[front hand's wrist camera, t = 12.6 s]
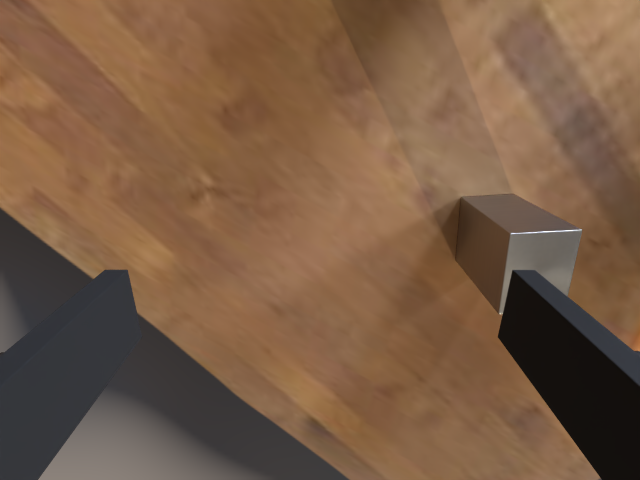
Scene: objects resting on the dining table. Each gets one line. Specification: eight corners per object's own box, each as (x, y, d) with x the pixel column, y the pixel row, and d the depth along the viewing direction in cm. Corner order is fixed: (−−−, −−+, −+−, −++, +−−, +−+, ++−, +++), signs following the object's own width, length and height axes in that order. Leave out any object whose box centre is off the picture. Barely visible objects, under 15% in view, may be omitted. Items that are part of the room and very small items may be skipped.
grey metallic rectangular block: (455, 260, 44) (498, 314, 33) (460, 196, 41) (510, 233, 30) (504, 257, 44) (564, 311, 33) (513, 193, 41) (582, 229, 30)
